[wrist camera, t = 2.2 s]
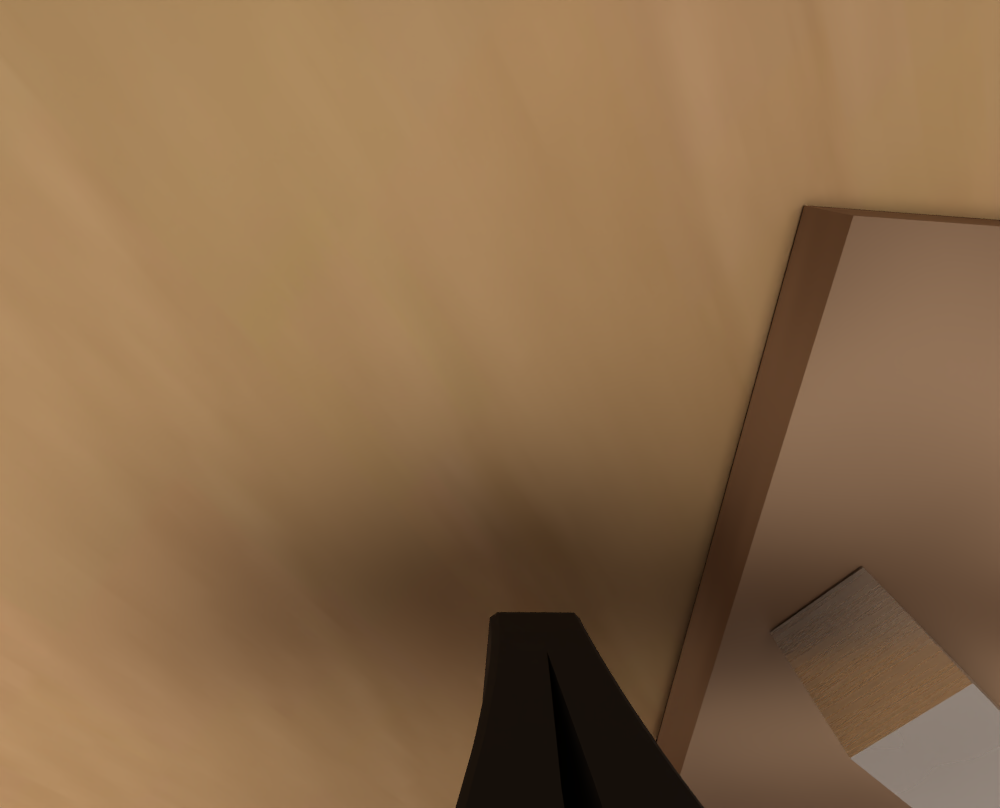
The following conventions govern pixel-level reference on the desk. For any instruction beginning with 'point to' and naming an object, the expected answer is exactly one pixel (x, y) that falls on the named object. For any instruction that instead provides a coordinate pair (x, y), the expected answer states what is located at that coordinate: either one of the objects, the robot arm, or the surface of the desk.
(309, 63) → the desk surface
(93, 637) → the desk surface
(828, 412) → the walnut board
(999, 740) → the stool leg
